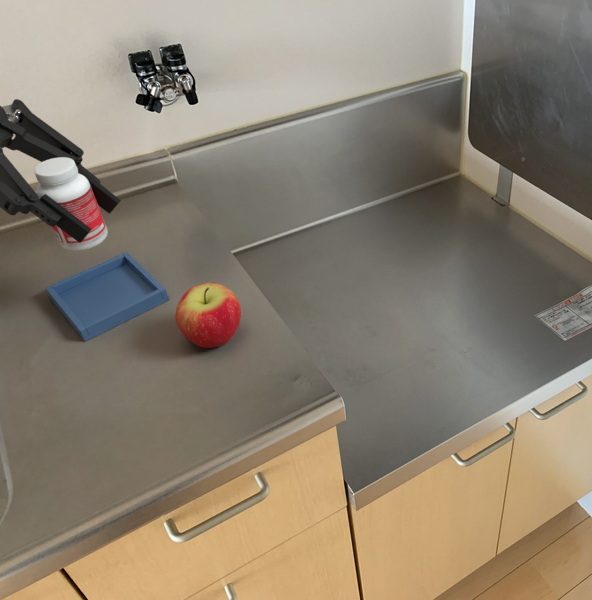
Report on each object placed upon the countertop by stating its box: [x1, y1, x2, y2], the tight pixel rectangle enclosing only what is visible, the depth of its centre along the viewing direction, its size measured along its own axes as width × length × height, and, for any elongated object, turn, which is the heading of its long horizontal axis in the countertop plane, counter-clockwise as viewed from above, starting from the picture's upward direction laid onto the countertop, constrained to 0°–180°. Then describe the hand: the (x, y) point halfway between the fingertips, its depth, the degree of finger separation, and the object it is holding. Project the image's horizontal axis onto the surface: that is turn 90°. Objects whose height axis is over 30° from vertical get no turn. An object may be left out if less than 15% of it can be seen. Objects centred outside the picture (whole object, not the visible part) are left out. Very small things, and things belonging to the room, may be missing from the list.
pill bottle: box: [33, 157, 109, 252], centre depth 79 cm, size 6×6×11 cm
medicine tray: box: [44, 251, 170, 342], centre depth 90 cm, size 13×13×2 cm
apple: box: [174, 282, 242, 349], centre depth 81 cm, size 8×8×10 cm
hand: (100, 221), depth 80 cm, fingers closed on pill bottle, 6 cm apart
